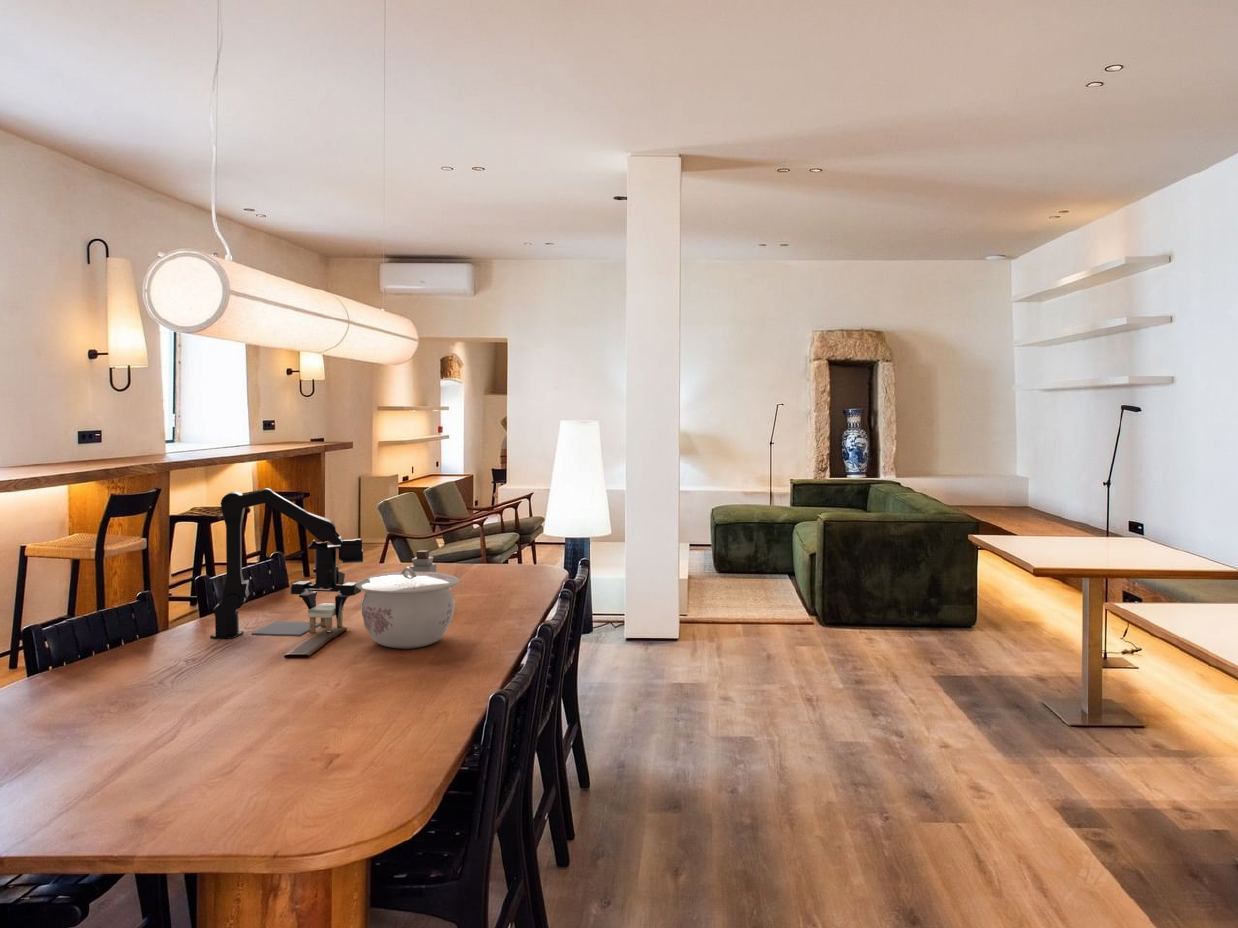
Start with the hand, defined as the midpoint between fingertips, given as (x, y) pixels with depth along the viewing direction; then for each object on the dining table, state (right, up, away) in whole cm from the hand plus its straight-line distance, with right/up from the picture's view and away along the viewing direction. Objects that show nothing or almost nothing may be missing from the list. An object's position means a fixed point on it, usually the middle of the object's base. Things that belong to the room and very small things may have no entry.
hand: (326, 618), depth 246 cm
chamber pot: (+27, -4, -13) cm, 30 cm away
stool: (0, -3, 0) cm, 3 cm away
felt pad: (-11, -3, 0) cm, 11 cm away
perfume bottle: (+21, -2, +30) cm, 37 cm away
